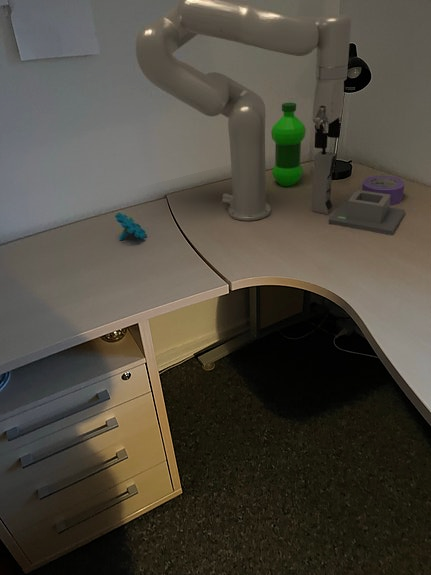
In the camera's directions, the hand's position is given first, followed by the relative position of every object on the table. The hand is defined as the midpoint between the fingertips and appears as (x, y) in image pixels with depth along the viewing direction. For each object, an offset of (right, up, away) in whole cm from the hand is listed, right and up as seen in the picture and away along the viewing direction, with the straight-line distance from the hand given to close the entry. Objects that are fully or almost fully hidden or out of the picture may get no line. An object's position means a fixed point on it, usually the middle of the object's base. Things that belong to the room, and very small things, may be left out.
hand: (327, 142), depth 124 cm
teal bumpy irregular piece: (-53, -25, +5) cm, 59 cm away
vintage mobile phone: (+1, -17, +11) cm, 20 cm away
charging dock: (+12, -20, +5) cm, 24 cm away
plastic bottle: (-6, -4, +31) cm, 31 cm away
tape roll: (+20, -12, +16) cm, 29 cm away
